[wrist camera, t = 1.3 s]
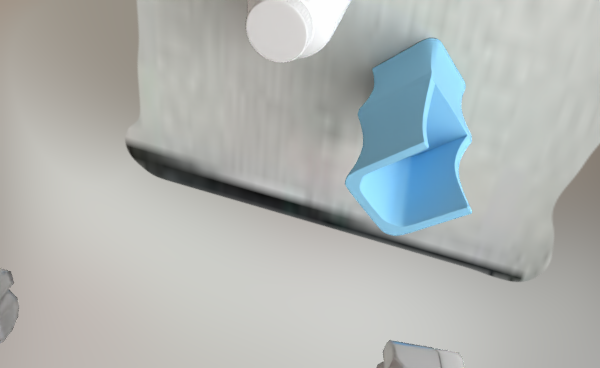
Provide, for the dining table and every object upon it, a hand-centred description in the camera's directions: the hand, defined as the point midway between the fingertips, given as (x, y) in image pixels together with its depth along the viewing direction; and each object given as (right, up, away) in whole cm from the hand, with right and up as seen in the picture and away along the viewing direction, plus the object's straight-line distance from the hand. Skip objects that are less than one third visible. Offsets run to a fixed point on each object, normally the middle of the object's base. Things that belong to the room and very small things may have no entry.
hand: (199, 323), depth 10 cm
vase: (+16, +15, +42) cm, 47 cm away
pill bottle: (+4, +25, +38) cm, 45 cm away
